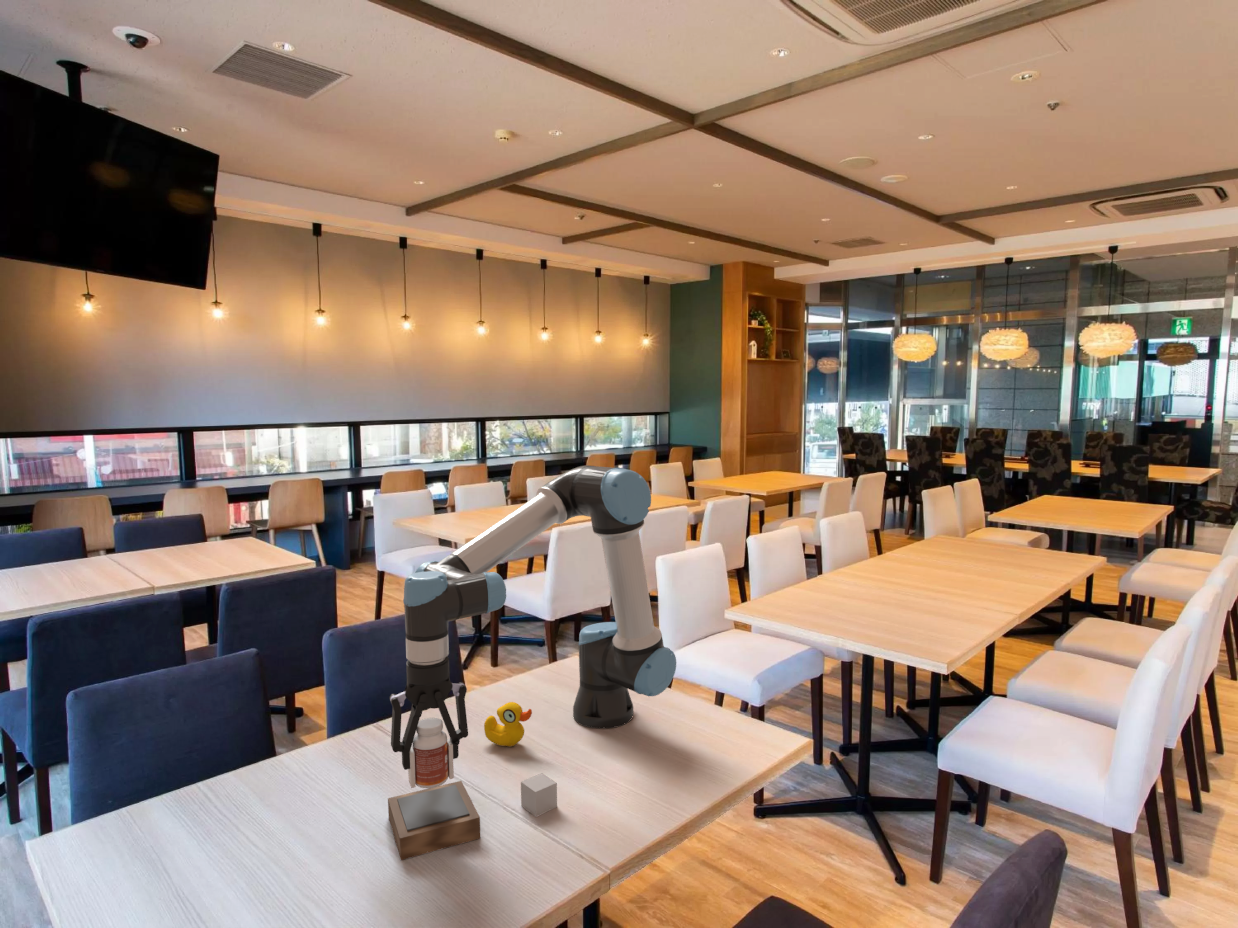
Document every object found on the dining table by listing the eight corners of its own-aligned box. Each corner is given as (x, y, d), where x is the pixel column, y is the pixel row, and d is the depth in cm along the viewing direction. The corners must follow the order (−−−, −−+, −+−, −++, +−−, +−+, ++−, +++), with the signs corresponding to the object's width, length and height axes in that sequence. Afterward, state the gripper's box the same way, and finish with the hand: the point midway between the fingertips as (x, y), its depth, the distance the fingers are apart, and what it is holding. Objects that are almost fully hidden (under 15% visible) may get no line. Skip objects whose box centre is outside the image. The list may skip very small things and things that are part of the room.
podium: (461, 799, 143) (461, 778, 143) (480, 837, 130) (479, 815, 130) (388, 818, 137) (387, 796, 136) (400, 860, 124) (399, 836, 124)
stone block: (542, 796, 144) (541, 772, 144) (557, 807, 140) (556, 782, 140) (521, 805, 141) (520, 781, 140) (535, 816, 137) (535, 791, 137)
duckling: (536, 741, 167) (535, 699, 166) (528, 752, 162) (528, 709, 161) (489, 737, 169) (488, 696, 168) (481, 748, 164) (479, 705, 163)
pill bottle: (453, 783, 132) (451, 724, 131) (420, 793, 128) (418, 733, 127) (441, 768, 137) (440, 712, 136) (409, 778, 134) (407, 720, 133)
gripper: (474, 643, 138) (477, 758, 140) (369, 659, 130) (374, 782, 132) (485, 655, 131) (487, 776, 133) (375, 673, 123) (379, 802, 125)
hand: (431, 779), depth 133 cm, fingers closed on pill bottle, 6 cm apart
